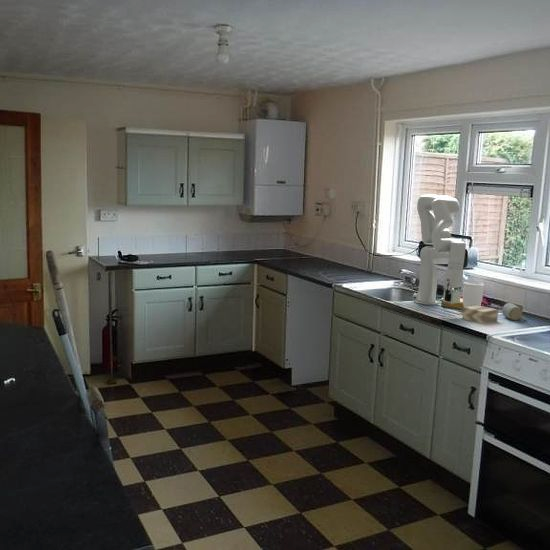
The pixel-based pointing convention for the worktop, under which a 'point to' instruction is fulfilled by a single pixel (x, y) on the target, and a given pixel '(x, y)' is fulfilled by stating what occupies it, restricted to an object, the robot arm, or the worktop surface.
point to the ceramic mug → (512, 312)
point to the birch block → (480, 314)
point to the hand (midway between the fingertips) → (451, 300)
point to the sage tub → (453, 296)
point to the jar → (472, 294)
